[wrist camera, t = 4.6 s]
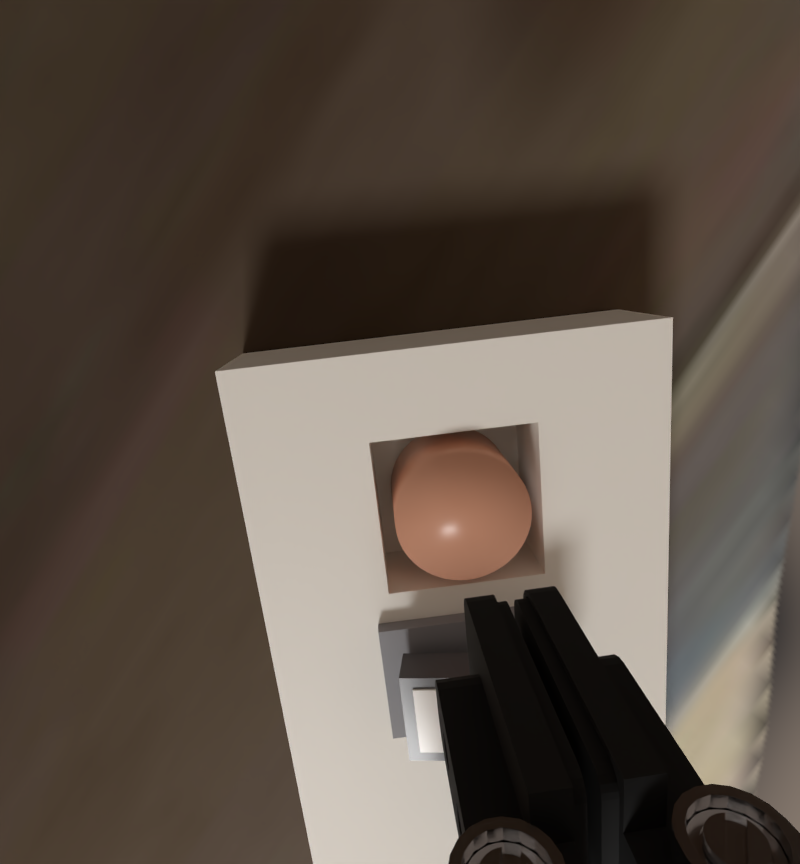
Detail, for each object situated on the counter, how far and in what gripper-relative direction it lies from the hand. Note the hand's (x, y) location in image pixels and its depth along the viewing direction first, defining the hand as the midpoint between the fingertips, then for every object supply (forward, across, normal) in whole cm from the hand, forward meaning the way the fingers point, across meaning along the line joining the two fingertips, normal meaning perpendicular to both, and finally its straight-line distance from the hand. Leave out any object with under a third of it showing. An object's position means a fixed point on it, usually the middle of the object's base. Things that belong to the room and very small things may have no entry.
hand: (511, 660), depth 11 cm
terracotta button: (+11, -1, +1) cm, 11 cm away
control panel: (+12, -1, +10) cm, 16 cm away
